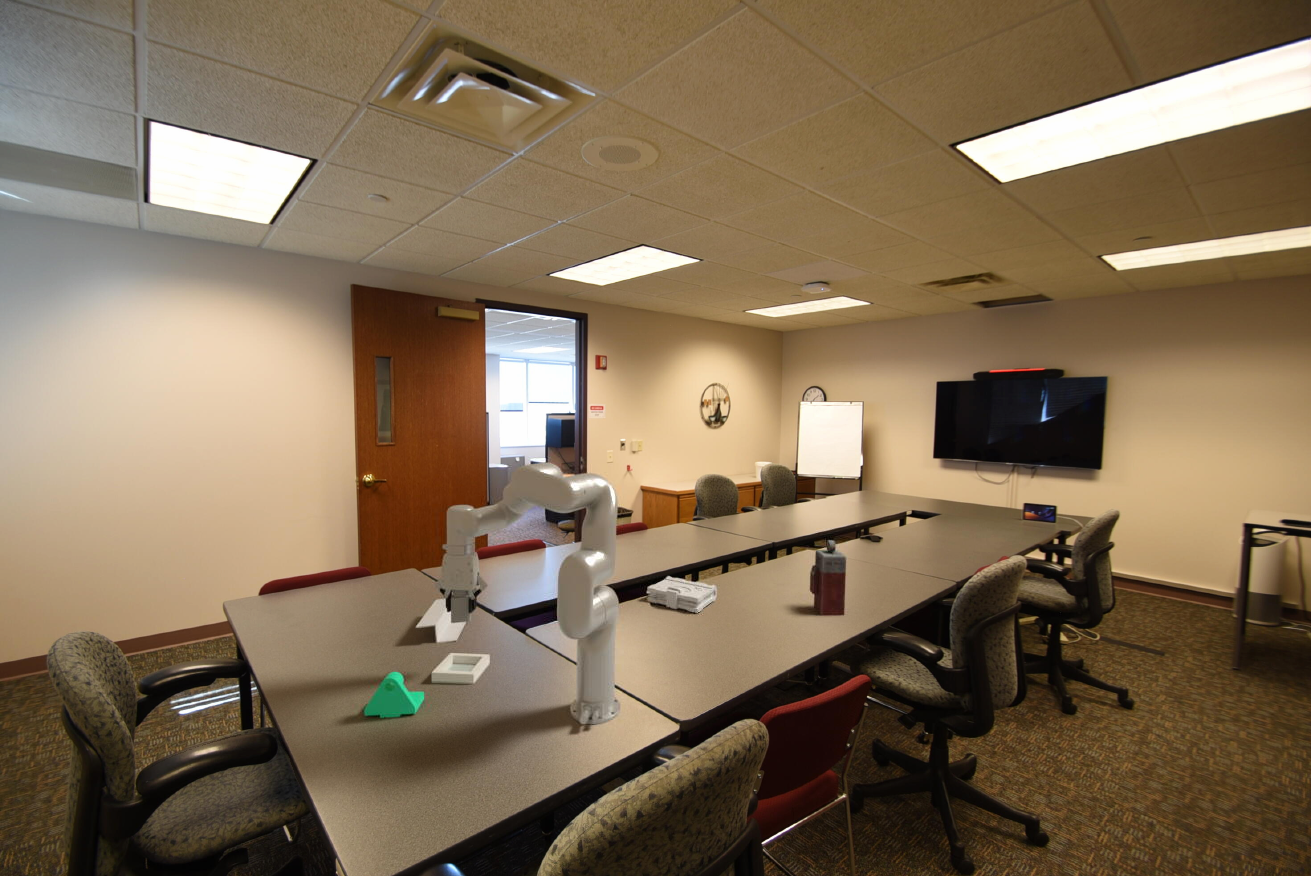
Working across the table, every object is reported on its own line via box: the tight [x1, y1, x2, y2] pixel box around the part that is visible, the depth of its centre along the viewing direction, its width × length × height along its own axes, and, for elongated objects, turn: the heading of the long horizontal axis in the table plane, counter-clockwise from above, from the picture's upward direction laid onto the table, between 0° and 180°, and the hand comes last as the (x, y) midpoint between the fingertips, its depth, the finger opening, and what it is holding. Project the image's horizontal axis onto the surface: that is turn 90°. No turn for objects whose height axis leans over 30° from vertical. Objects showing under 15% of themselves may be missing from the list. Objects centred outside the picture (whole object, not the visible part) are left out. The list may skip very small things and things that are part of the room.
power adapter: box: [451, 590, 472, 623], centre depth 153 cm, size 3×5×12 cm, turn 107°
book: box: [646, 575, 718, 614], centre depth 217 cm, size 19×28×8 cm
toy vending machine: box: [809, 539, 847, 617], centre depth 205 cm, size 9×11×28 cm
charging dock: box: [431, 652, 491, 685], centre depth 154 cm, size 12×12×3 cm
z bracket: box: [415, 598, 467, 644], centre depth 186 cm, size 12×25×6 cm, turn 8°
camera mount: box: [363, 671, 425, 719], centre depth 136 cm, size 12×8×10 cm, turn 96°
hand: (461, 610), depth 154 cm, fingers closed on power adapter, 5 cm apart
